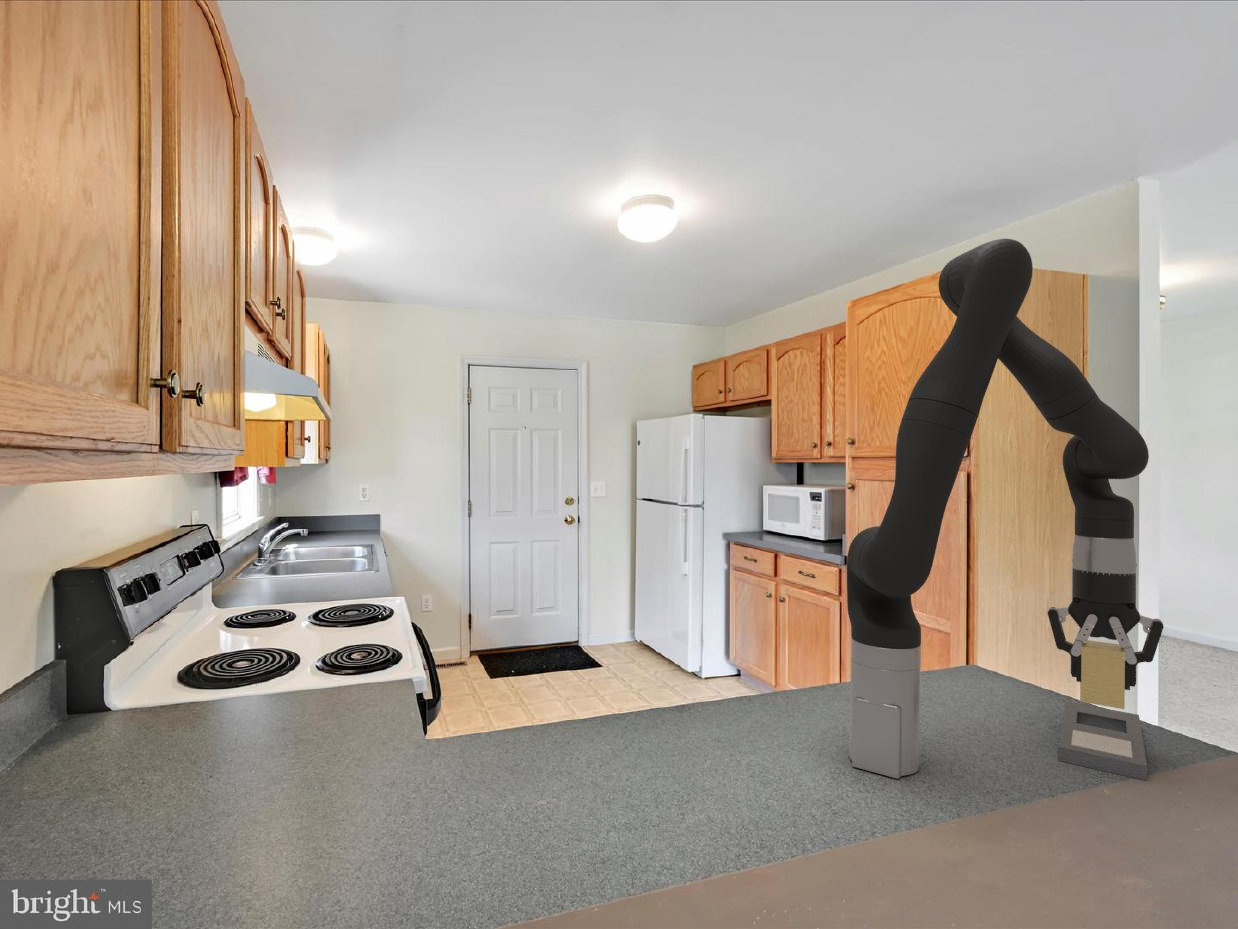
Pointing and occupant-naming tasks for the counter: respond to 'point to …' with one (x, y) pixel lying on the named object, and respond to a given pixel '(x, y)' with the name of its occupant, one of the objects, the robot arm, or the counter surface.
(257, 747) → the counter surface
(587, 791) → the counter surface
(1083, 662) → the yellow wooden block
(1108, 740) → the grey slotted holder
